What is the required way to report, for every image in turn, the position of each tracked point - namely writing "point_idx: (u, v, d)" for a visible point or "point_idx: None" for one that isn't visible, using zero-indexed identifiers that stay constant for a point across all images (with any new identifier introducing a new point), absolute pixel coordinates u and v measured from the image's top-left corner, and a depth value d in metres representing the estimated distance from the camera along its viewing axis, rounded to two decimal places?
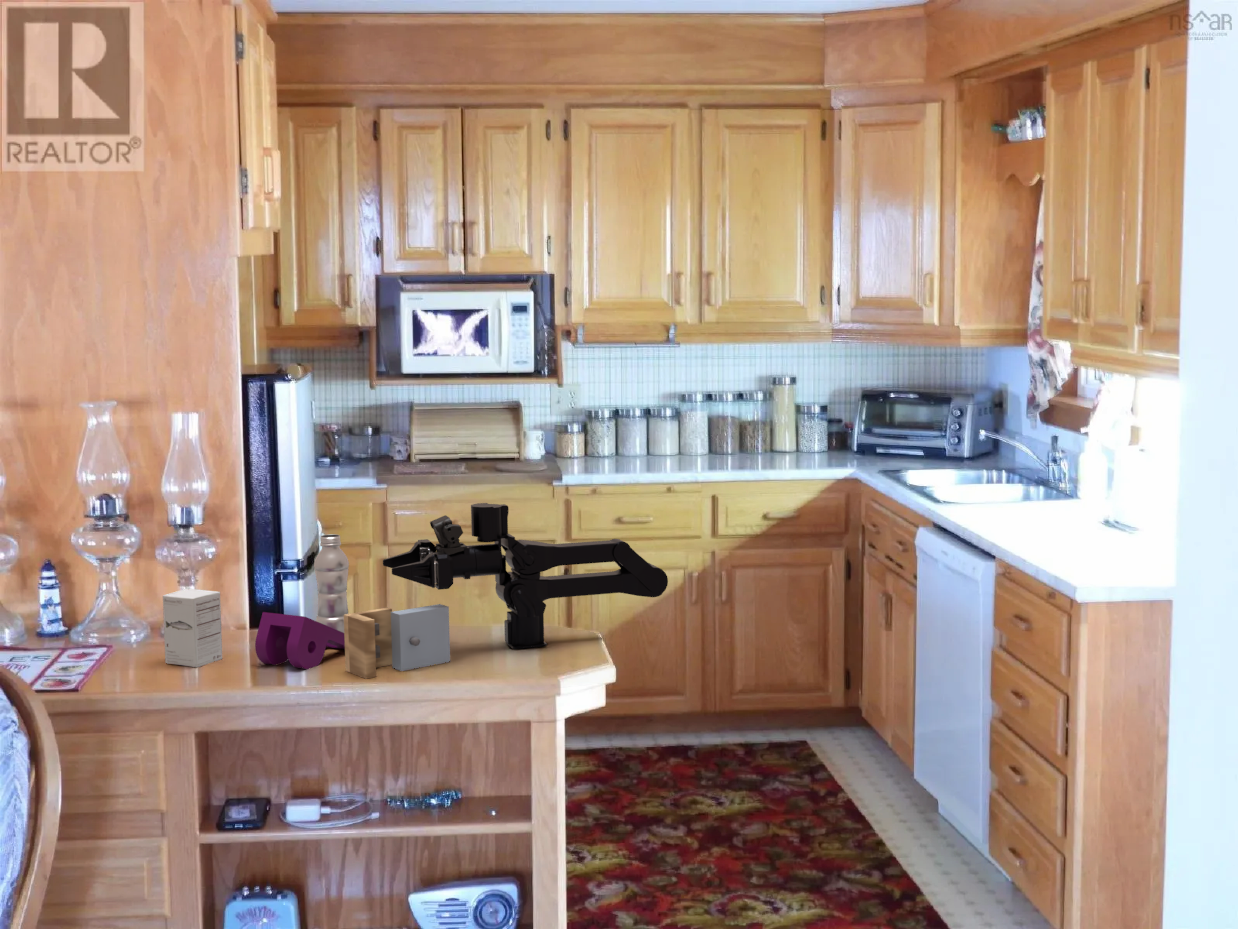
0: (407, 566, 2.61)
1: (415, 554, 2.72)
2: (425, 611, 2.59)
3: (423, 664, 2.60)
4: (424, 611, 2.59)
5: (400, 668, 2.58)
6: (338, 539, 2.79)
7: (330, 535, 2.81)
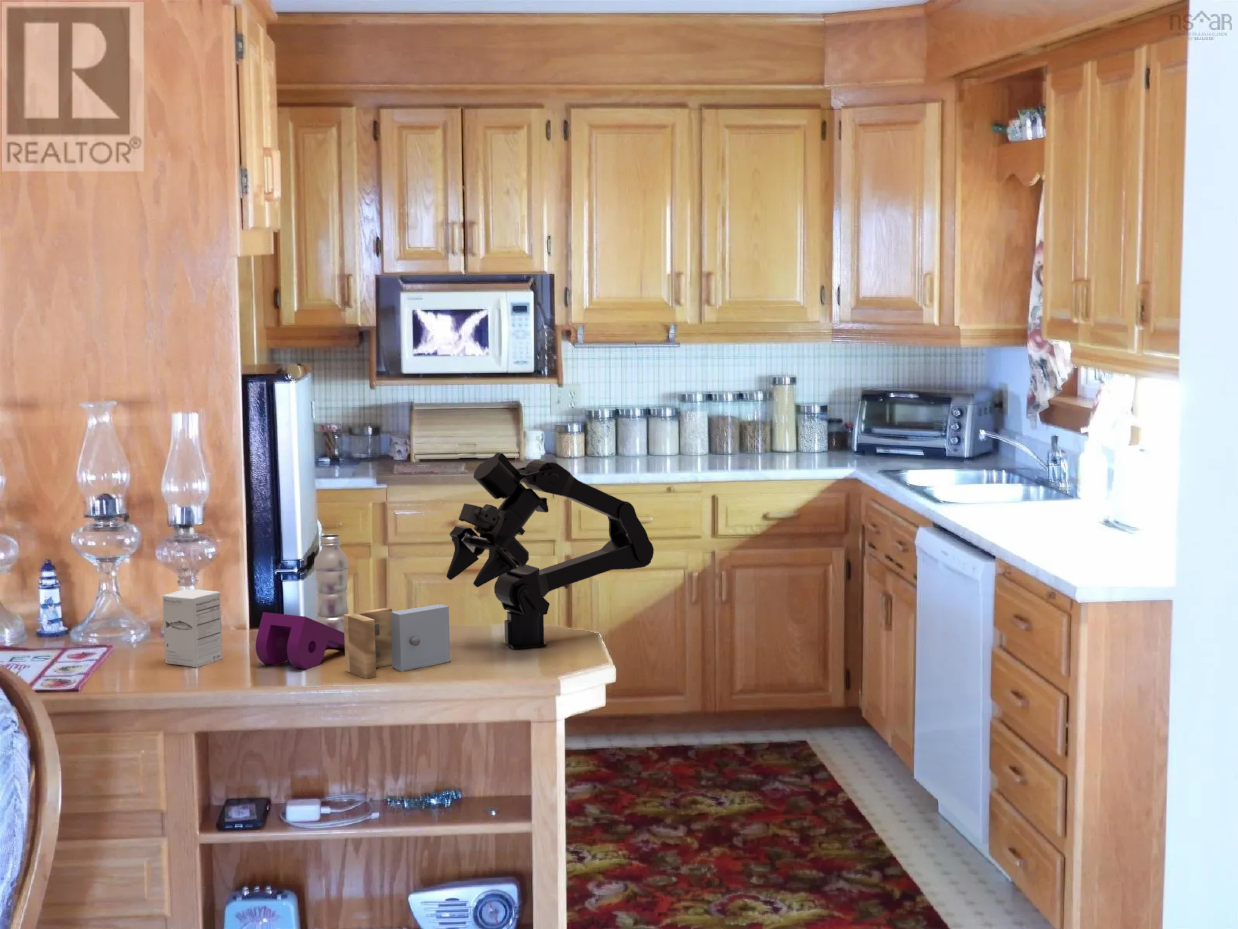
0: (483, 572, 2.62)
1: (463, 548, 2.71)
2: (425, 611, 2.59)
3: (423, 664, 2.60)
4: (424, 611, 2.59)
5: (400, 668, 2.58)
6: (338, 539, 2.79)
7: (330, 535, 2.81)
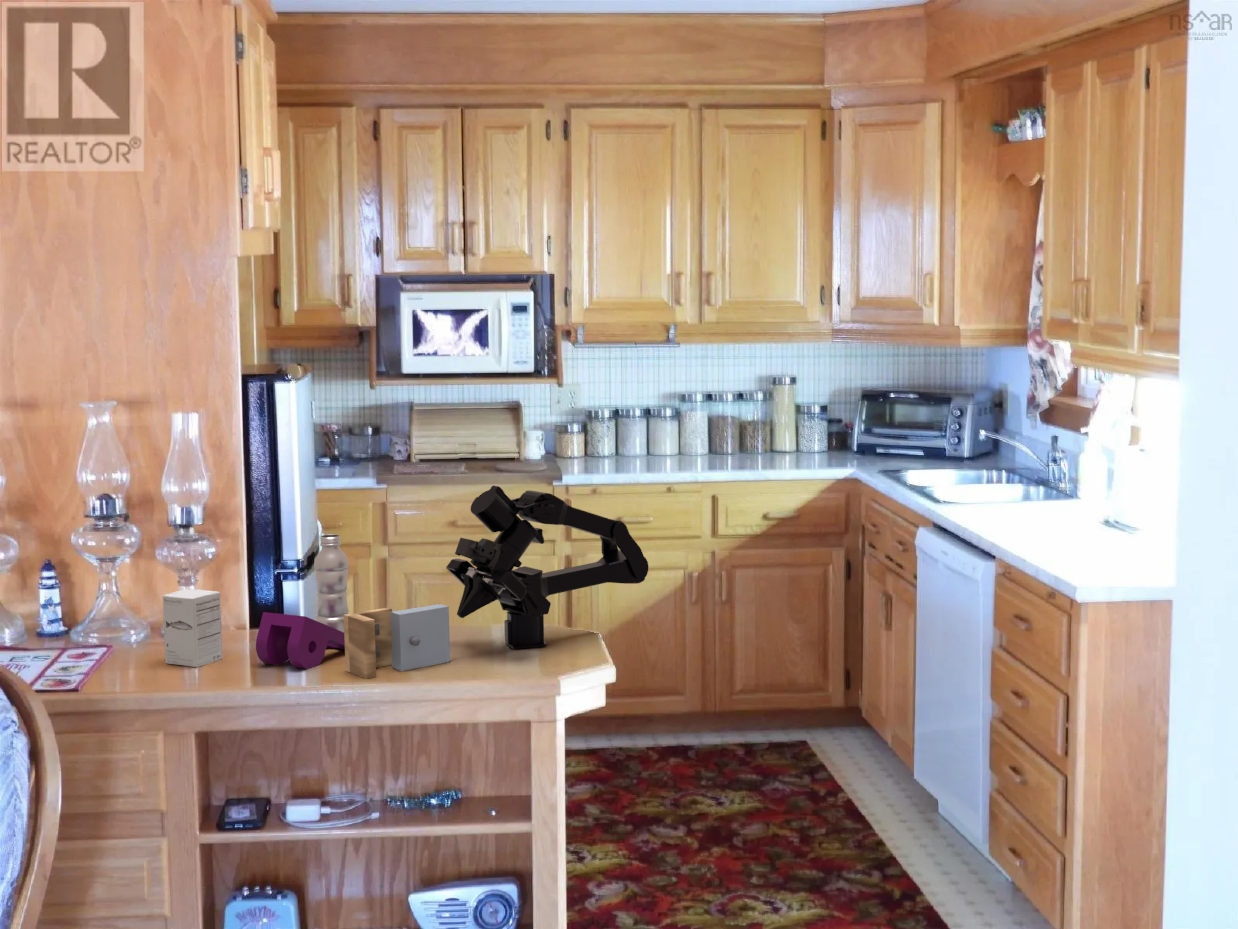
0: (468, 603, 2.66)
1: (473, 585, 2.68)
2: (425, 611, 2.59)
3: (423, 664, 2.60)
4: (424, 611, 2.59)
5: (400, 668, 2.58)
6: (338, 539, 2.79)
7: (330, 535, 2.81)
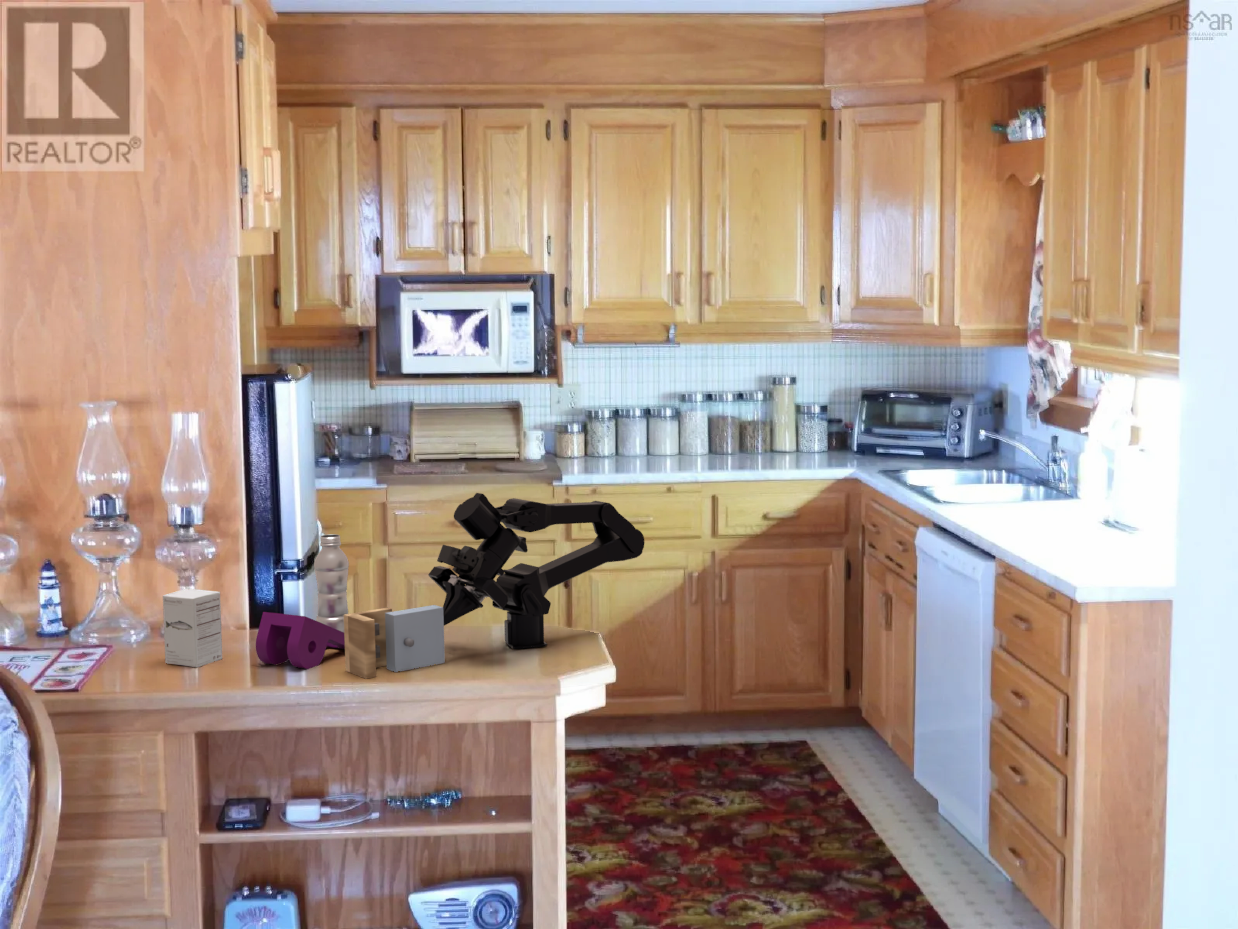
0: (449, 610, 2.63)
1: (455, 593, 2.66)
2: (419, 612, 2.59)
3: (417, 665, 2.59)
4: (418, 612, 2.59)
5: (394, 669, 2.57)
6: (338, 539, 2.79)
7: (330, 535, 2.81)
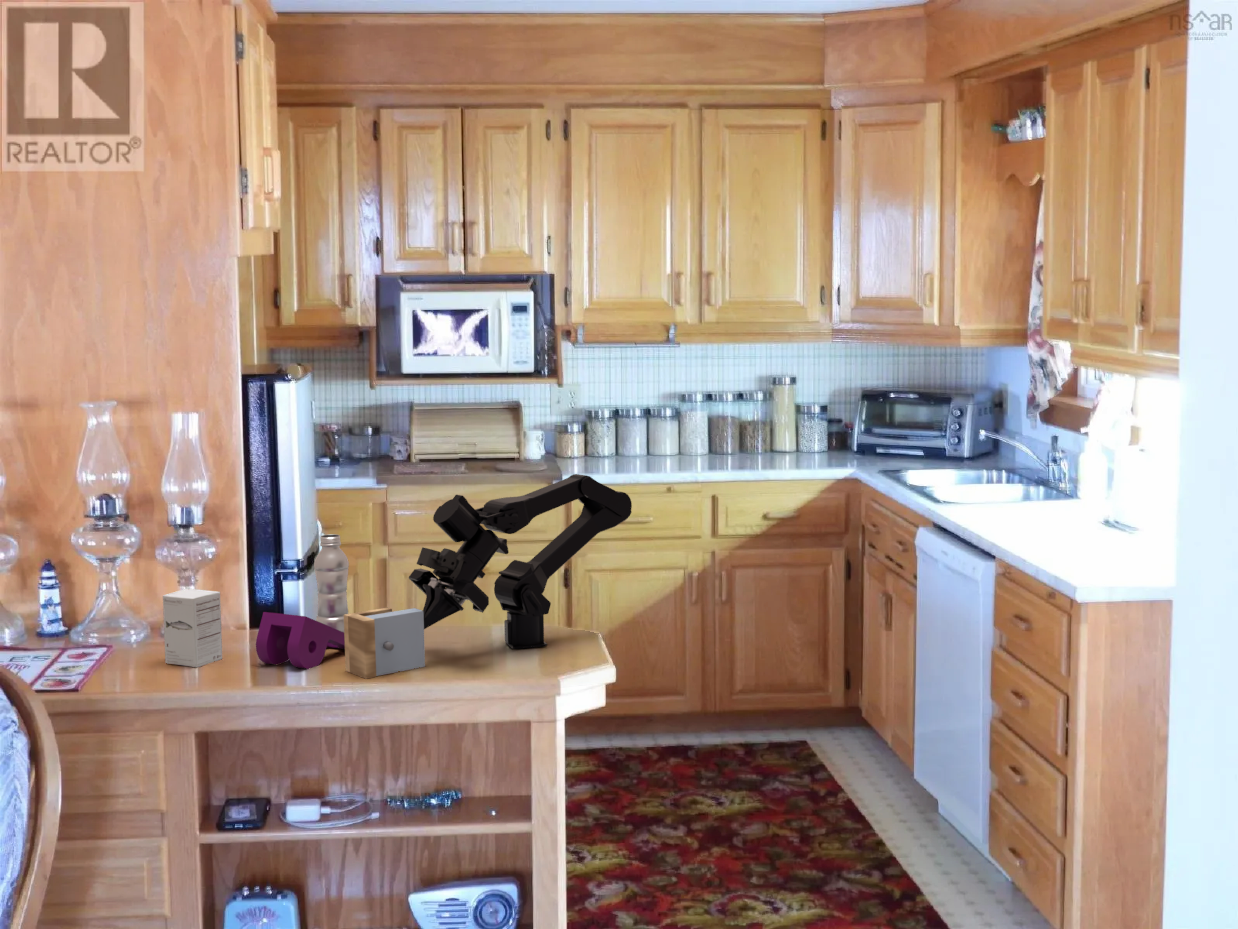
0: (429, 614, 2.61)
1: (435, 596, 2.63)
2: (399, 615, 2.56)
3: (397, 669, 2.57)
4: (398, 615, 2.56)
5: None
6: (338, 539, 2.79)
7: (330, 535, 2.81)
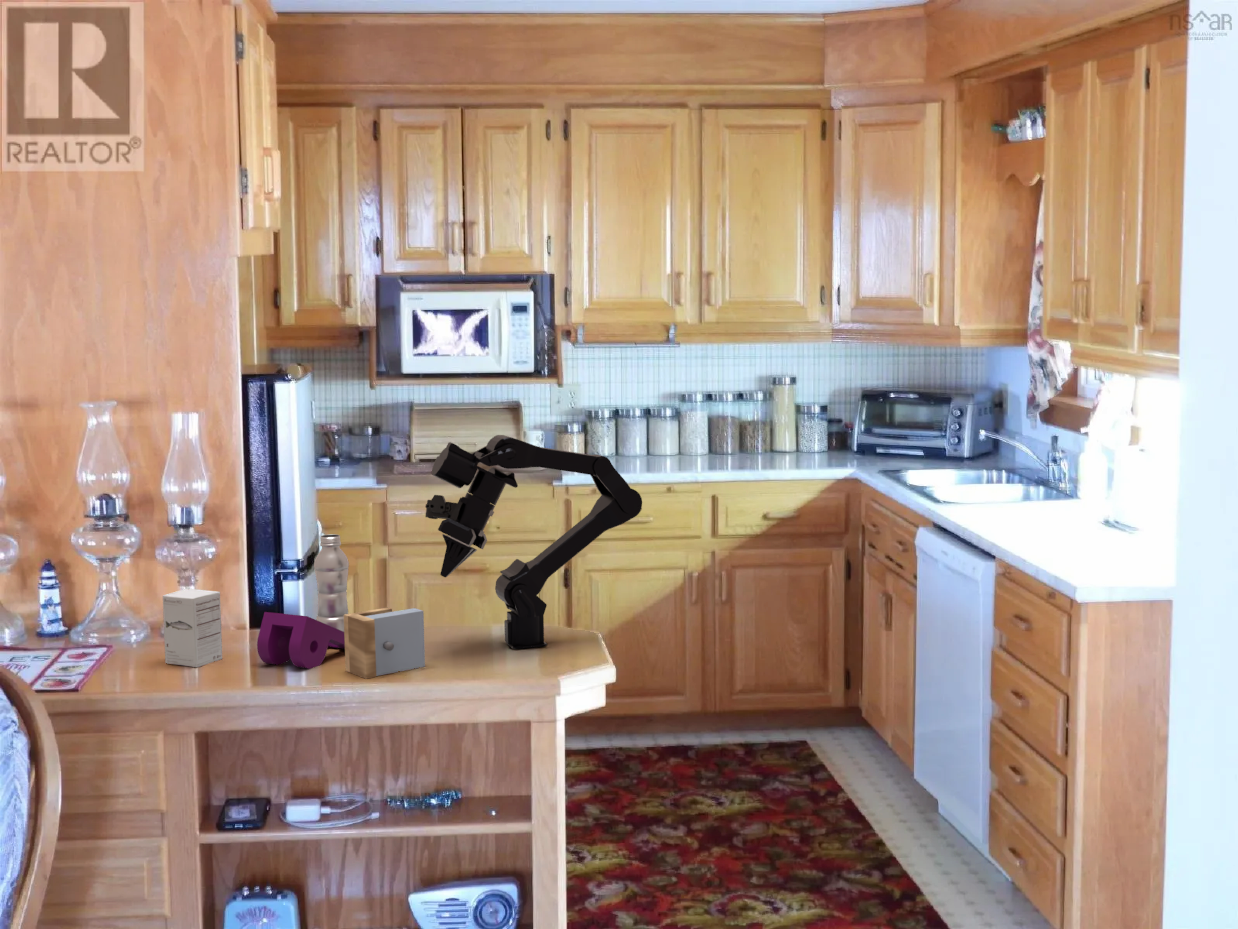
0: (444, 561, 2.68)
1: None
2: (399, 615, 2.56)
3: (397, 669, 2.57)
4: (398, 615, 2.56)
5: None
6: (338, 539, 2.79)
7: (330, 535, 2.81)
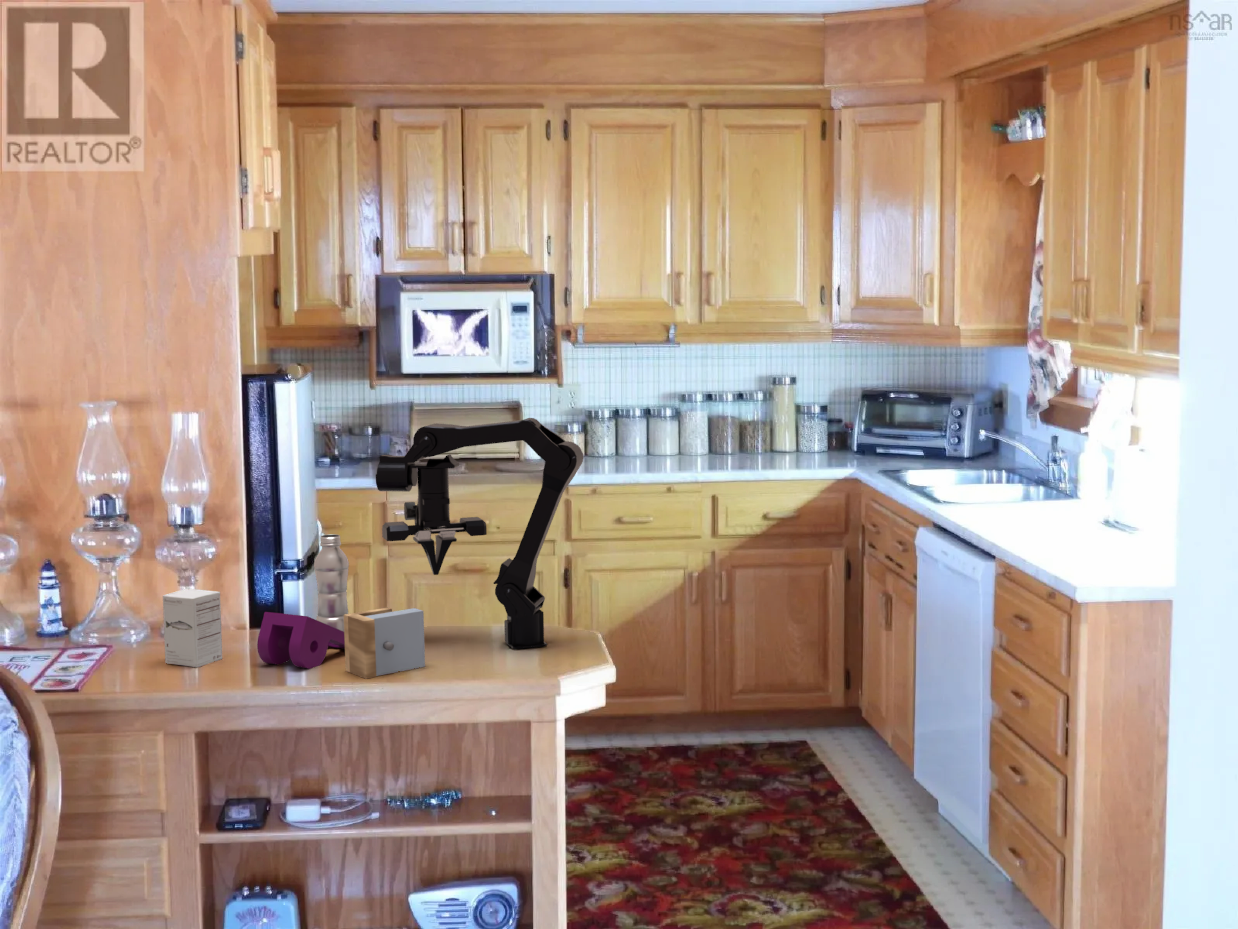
0: (429, 560, 2.77)
1: (437, 541, 2.77)
2: (399, 615, 2.56)
3: (397, 669, 2.57)
4: (398, 615, 2.56)
5: None
6: (338, 539, 2.79)
7: (330, 535, 2.81)
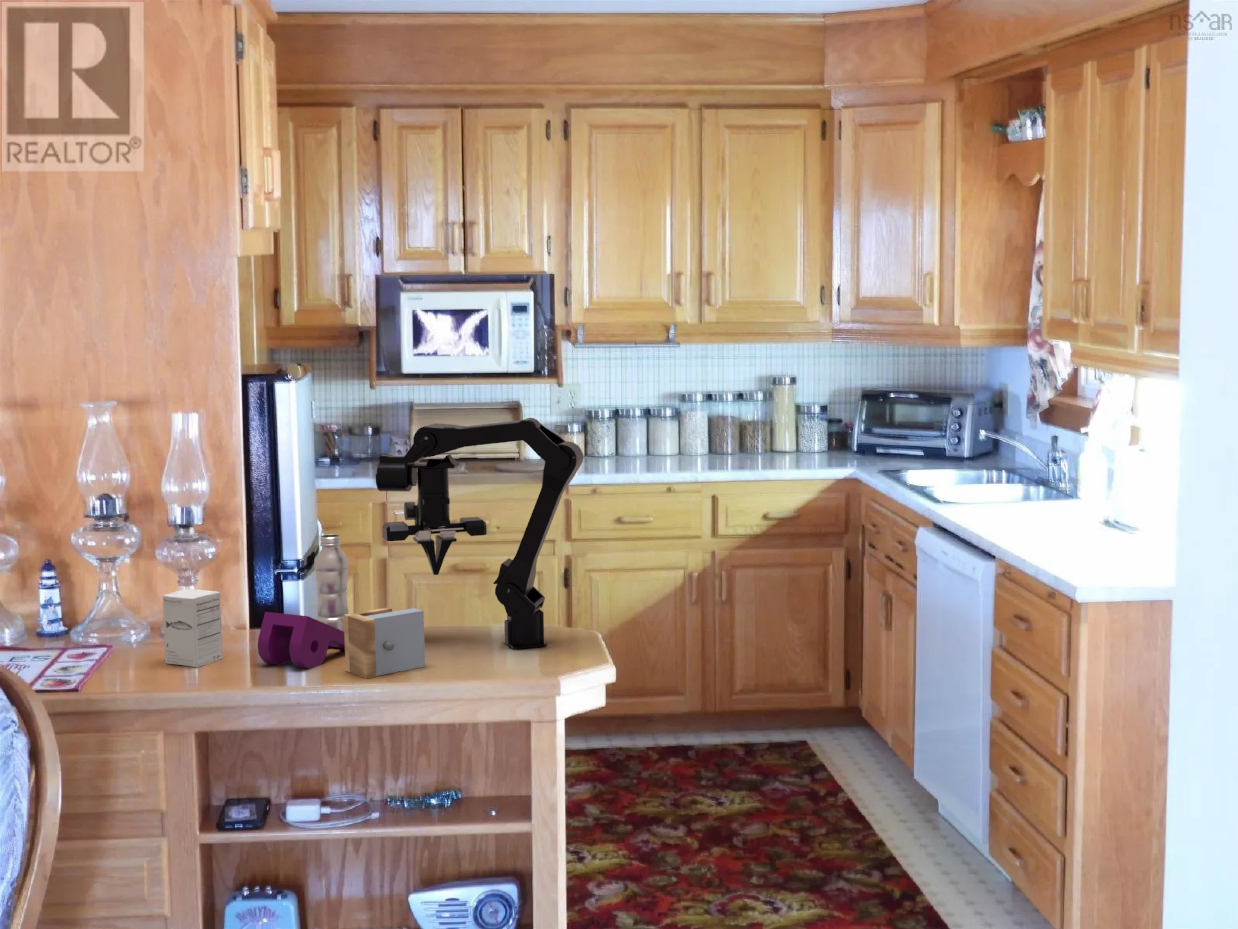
0: (429, 560, 2.77)
1: (437, 541, 2.77)
2: (399, 615, 2.56)
3: (397, 669, 2.57)
4: (398, 615, 2.56)
5: None
6: (338, 539, 2.79)
7: (330, 535, 2.81)
